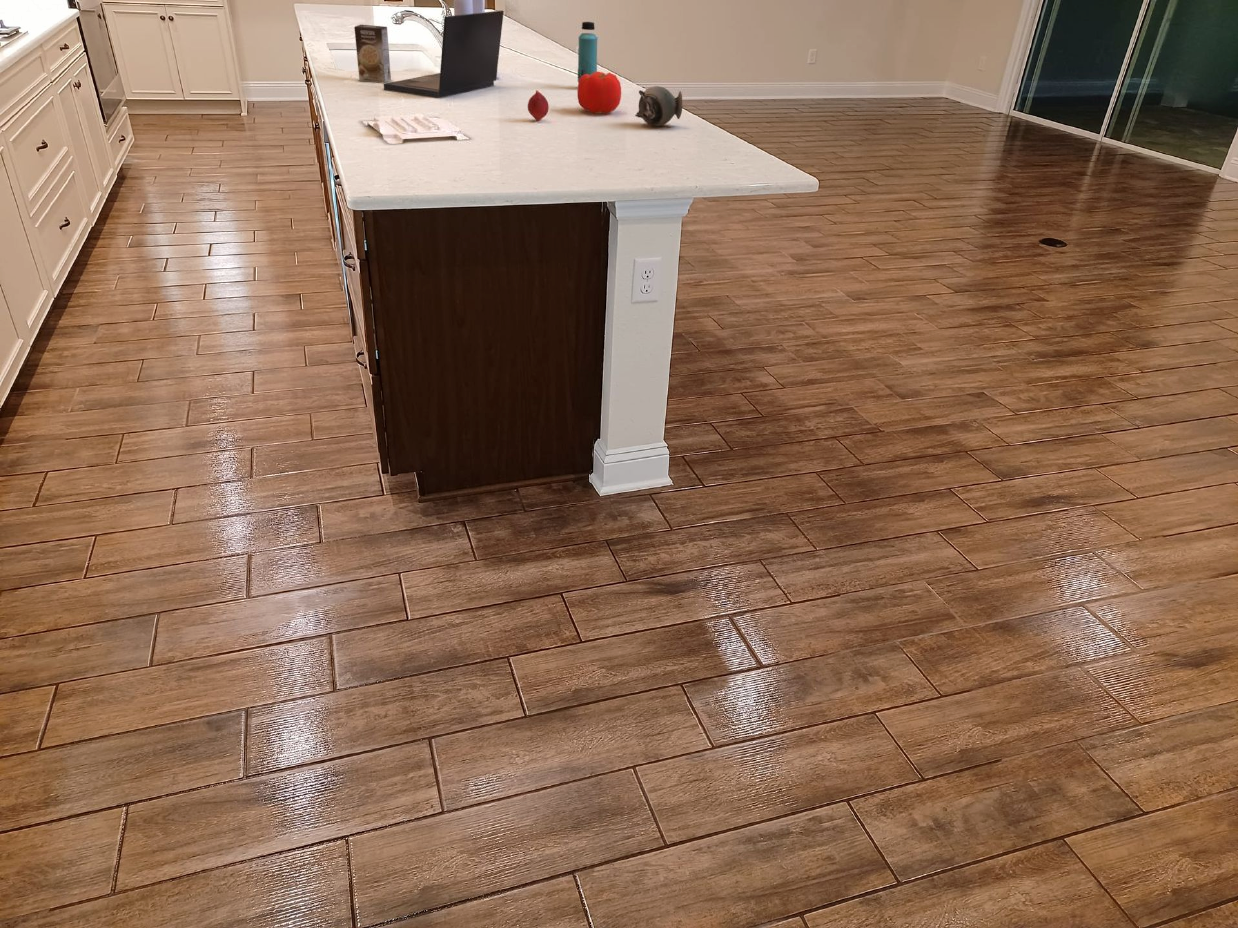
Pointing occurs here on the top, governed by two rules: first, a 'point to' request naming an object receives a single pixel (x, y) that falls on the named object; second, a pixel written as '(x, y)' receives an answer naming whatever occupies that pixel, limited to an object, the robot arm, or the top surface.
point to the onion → (538, 106)
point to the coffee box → (372, 53)
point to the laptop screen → (470, 49)
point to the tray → (413, 127)
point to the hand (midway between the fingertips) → (465, 64)
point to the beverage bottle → (587, 51)
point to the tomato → (599, 92)
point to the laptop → (428, 86)
